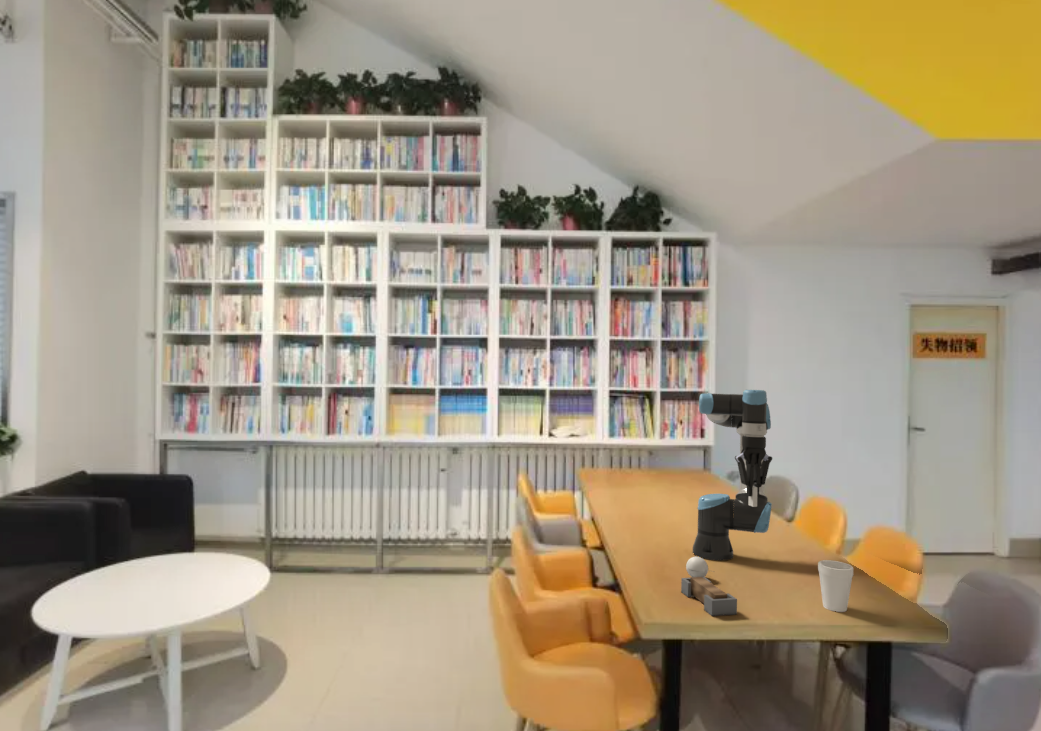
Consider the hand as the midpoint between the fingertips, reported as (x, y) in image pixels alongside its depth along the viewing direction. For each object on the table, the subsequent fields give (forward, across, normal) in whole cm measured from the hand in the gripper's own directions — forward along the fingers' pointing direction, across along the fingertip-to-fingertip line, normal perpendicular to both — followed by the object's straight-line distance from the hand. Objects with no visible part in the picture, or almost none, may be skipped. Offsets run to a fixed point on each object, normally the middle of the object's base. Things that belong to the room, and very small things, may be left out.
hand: (752, 505), depth 200 cm
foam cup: (+27, +14, -22) cm, 37 cm away
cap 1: (+26, -23, -5) cm, 35 cm away
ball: (+27, -15, +7) cm, 31 cm away
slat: (+26, -23, -13) cm, 37 cm away
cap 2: (+26, -23, -20) cm, 40 cm away
